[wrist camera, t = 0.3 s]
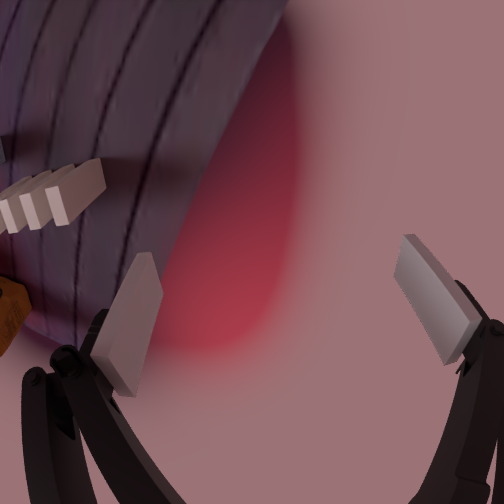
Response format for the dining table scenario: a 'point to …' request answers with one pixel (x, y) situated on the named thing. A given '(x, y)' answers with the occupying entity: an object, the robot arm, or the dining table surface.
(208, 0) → the dining table surface
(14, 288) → the coffee package
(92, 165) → the domino
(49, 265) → the dining table surface
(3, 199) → the domino
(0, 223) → the domino
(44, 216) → the domino
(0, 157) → the domino
